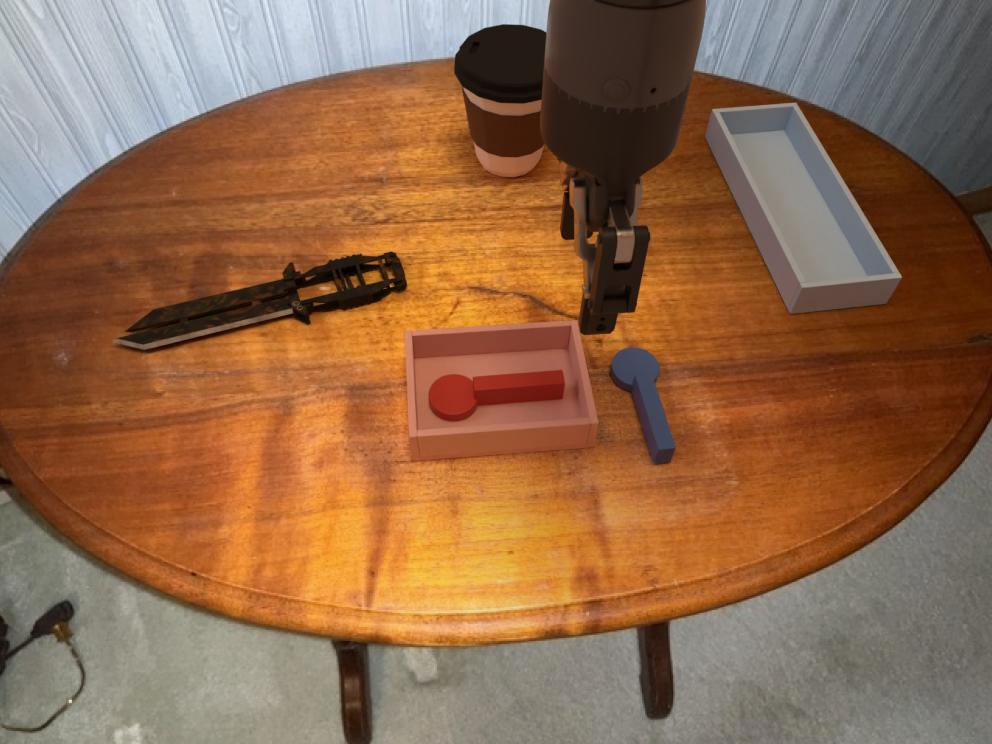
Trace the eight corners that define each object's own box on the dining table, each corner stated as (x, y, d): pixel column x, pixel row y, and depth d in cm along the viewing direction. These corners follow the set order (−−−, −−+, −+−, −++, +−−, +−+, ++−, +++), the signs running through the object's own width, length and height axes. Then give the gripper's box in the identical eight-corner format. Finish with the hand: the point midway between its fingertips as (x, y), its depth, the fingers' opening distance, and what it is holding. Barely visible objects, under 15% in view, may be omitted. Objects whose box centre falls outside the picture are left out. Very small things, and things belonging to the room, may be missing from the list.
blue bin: (886, 303, 74) (902, 277, 71) (789, 314, 73) (802, 287, 70) (786, 130, 89) (796, 102, 86) (704, 136, 88) (712, 108, 85)
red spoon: (557, 372, 68) (560, 356, 66) (565, 412, 66) (568, 396, 64) (427, 382, 67) (426, 366, 65) (430, 423, 65) (429, 408, 63)
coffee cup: (444, 184, 82) (440, 78, 73) (469, 118, 89) (468, 13, 79) (551, 201, 81) (561, 96, 71) (568, 134, 88) (580, 29, 78)
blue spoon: (686, 460, 64) (693, 445, 62) (637, 466, 63) (641, 452, 62) (650, 352, 70) (655, 335, 68) (605, 357, 70) (608, 340, 68)
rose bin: (573, 345, 70) (577, 319, 68) (593, 447, 64) (598, 423, 61) (407, 356, 69) (404, 330, 66) (411, 461, 63) (409, 437, 60)
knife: (115, 360, 68) (109, 349, 67) (115, 303, 72) (110, 292, 71) (412, 305, 73) (411, 295, 72) (398, 254, 76) (397, 243, 75)
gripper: (728, 144, 37) (663, 362, 50) (662, -17, 46) (621, 205, 59) (565, 151, 37) (541, 369, 50) (529, -13, 45) (517, 210, 58)
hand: (585, 280), depth 54 cm, fingers open, 8 cm apart
